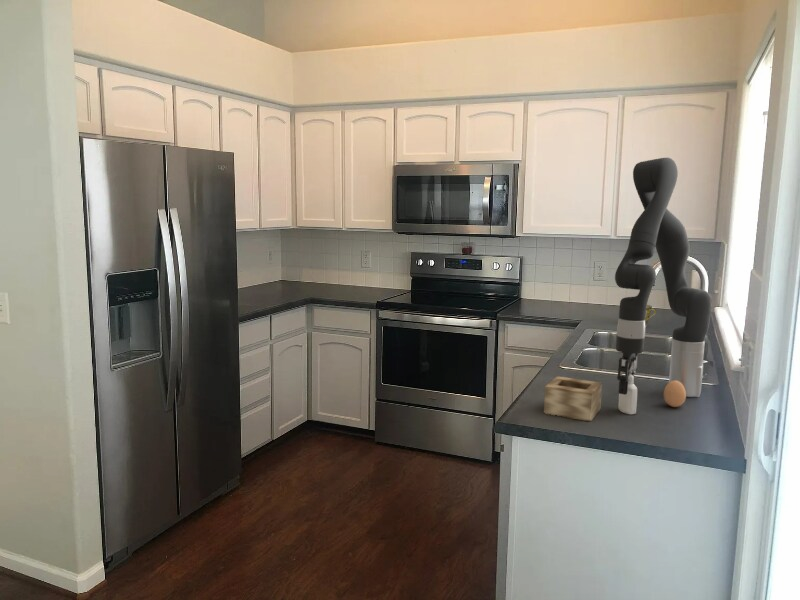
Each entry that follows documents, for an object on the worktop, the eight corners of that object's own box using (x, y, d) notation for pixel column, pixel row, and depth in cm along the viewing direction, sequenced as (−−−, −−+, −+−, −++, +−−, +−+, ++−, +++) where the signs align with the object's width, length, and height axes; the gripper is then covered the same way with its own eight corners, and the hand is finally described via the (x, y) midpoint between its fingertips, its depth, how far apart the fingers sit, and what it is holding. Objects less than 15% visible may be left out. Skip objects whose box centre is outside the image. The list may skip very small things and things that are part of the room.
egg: (659, 406, 190) (661, 380, 189) (666, 402, 195) (668, 376, 193) (681, 411, 186) (683, 384, 185) (687, 406, 191) (689, 380, 190)
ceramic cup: (623, 325, 310) (625, 304, 308) (636, 323, 316) (637, 303, 314) (648, 330, 300) (649, 308, 298) (660, 327, 305) (662, 306, 304)
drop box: (600, 409, 187) (602, 382, 186) (590, 421, 177) (591, 393, 176) (556, 402, 194) (557, 376, 192) (543, 413, 183) (545, 386, 182)
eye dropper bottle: (620, 414, 183) (623, 373, 181) (617, 408, 189) (620, 368, 187) (636, 415, 183) (639, 374, 181) (633, 409, 188) (636, 369, 186)
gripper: (639, 340, 174) (634, 398, 177) (649, 332, 187) (644, 386, 189) (611, 337, 178) (606, 394, 181) (622, 329, 190) (618, 382, 193)
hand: (626, 390), depth 185 cm, fingers open, 8 cm apart
